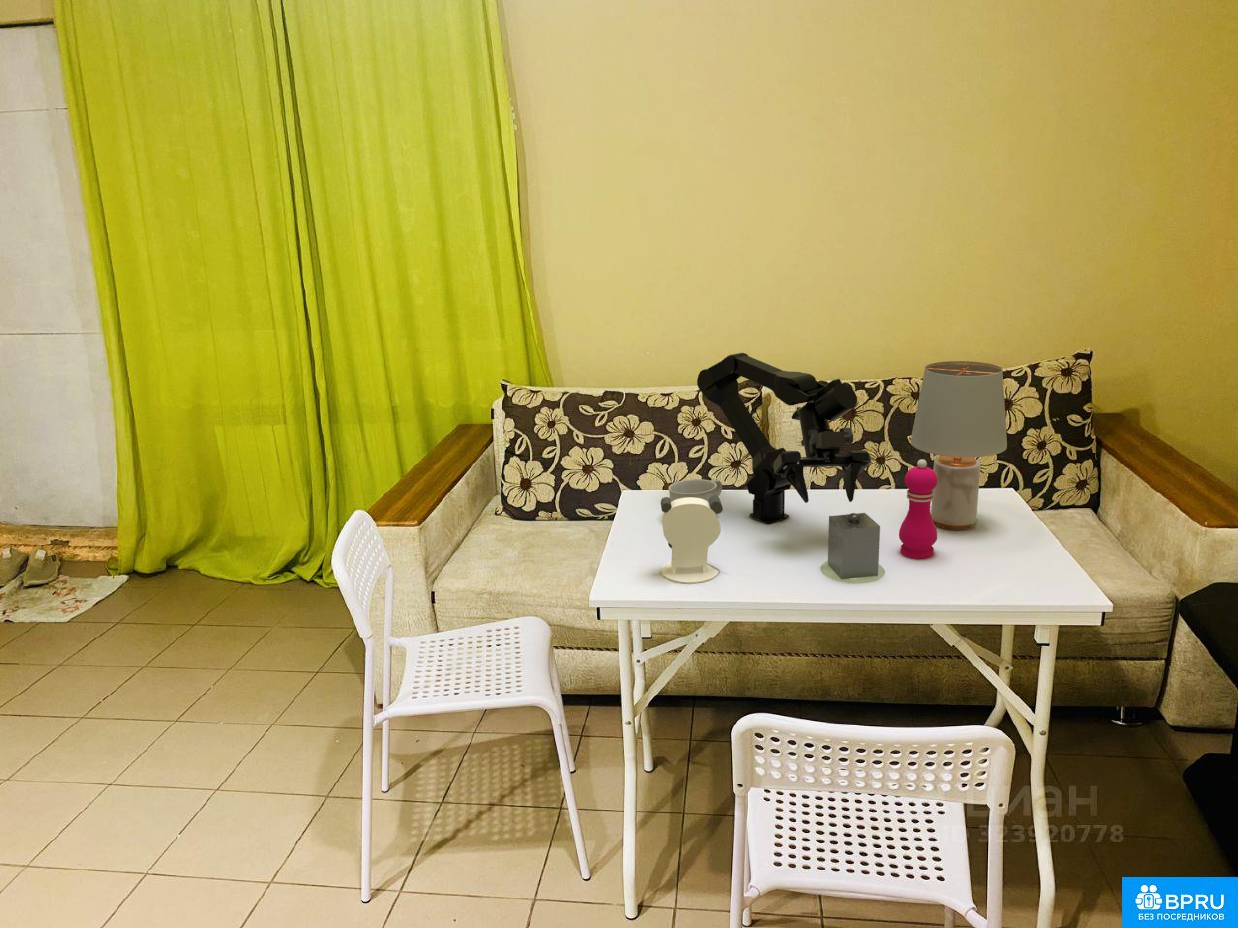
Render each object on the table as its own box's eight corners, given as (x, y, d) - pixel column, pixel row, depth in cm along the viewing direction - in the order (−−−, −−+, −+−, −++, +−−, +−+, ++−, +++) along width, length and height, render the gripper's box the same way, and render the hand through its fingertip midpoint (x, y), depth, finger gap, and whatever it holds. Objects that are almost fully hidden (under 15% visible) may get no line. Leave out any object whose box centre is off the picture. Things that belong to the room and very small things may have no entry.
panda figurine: (719, 558, 187) (718, 488, 182) (725, 582, 176) (725, 508, 172) (659, 561, 187) (657, 490, 183) (662, 584, 176) (660, 511, 172)
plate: (852, 555, 185) (852, 552, 185) (898, 575, 176) (898, 572, 175) (807, 570, 180) (807, 567, 179) (852, 591, 170) (852, 588, 170)
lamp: (894, 531, 197) (902, 374, 186) (920, 503, 212) (929, 356, 201) (988, 547, 186) (1001, 381, 176) (1008, 516, 201) (1022, 363, 191)
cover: (827, 564, 180) (829, 510, 177) (863, 560, 181) (865, 506, 178) (841, 579, 174) (843, 523, 170) (878, 575, 175) (880, 520, 171)
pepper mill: (936, 550, 186) (942, 455, 180) (935, 564, 180) (941, 466, 174) (898, 547, 188) (903, 453, 182) (896, 561, 182) (901, 464, 176)
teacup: (685, 530, 202) (684, 496, 200) (660, 516, 211) (659, 482, 209) (738, 517, 208) (738, 484, 206) (712, 504, 217) (711, 471, 215)
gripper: (784, 412, 180) (797, 486, 174) (874, 412, 184) (890, 484, 177) (767, 437, 190) (779, 508, 184) (853, 437, 194) (867, 506, 187)
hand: (829, 501), depth 183 cm, fingers open, 9 cm apart
